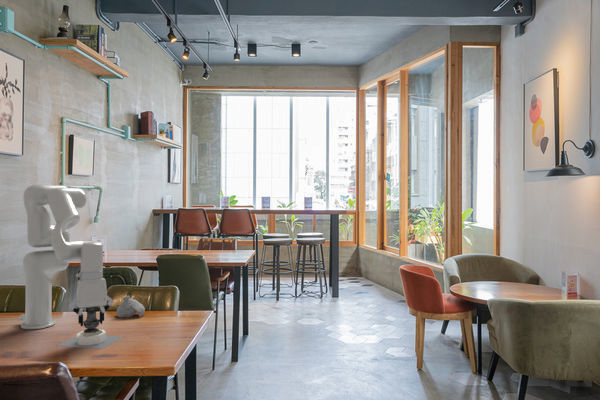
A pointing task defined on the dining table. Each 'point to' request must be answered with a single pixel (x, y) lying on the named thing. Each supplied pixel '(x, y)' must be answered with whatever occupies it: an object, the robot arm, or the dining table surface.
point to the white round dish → (91, 337)
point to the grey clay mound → (130, 308)
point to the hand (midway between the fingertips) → (91, 323)
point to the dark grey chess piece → (91, 321)
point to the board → (102, 345)
